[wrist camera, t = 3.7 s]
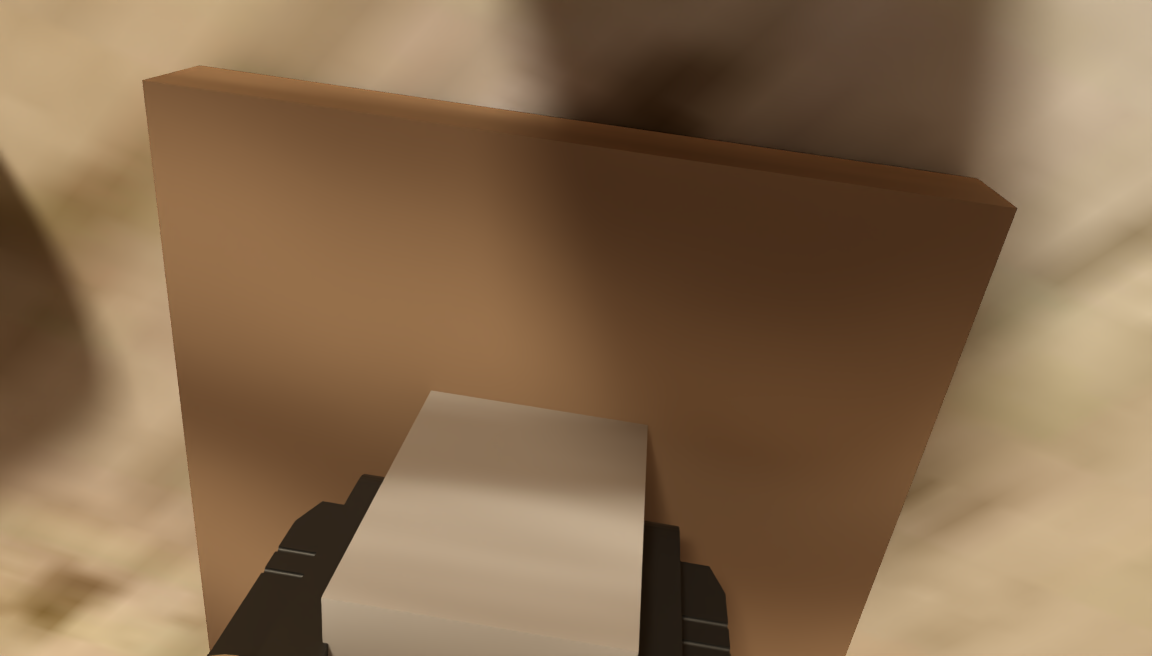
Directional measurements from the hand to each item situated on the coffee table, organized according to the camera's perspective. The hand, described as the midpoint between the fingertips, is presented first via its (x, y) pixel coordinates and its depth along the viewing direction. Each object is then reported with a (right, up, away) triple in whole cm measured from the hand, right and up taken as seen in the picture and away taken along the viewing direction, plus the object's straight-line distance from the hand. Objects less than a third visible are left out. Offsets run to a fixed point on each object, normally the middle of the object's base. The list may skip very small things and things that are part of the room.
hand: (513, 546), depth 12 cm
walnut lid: (0, +1, +2) cm, 3 cm away
